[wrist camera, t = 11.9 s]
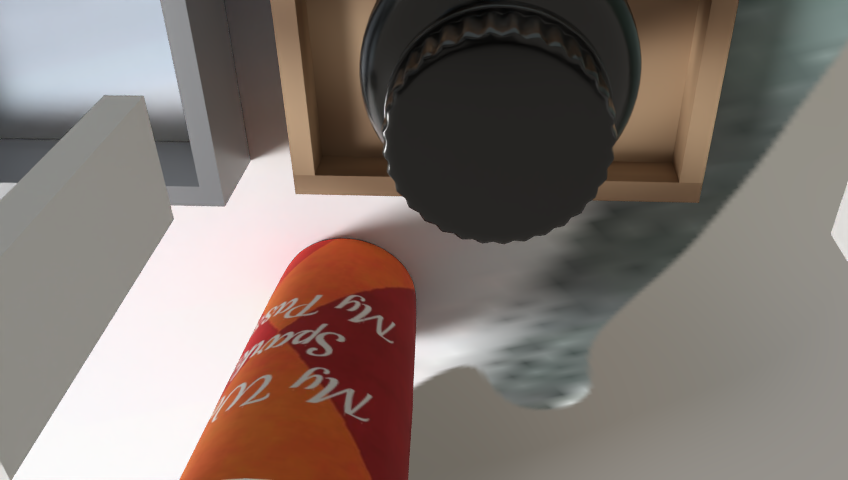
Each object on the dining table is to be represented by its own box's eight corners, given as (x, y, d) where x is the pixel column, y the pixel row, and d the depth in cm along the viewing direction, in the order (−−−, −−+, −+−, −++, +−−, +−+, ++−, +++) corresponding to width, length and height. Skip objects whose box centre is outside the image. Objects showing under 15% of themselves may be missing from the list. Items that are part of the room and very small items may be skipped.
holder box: (-231, -226, 25) (-327, -218, 22) (184, -236, 24) (141, -229, 21) (-71, 155, 33) (-127, 198, 30) (250, 161, 31) (224, 206, 29)
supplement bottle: (644, 7, 26) (734, 192, 16) (474, 117, 28) (460, 334, 19) (529, -182, 23) (551, -101, 13) (352, -41, 26) (259, 116, 16)
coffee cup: (394, 188, 32) (323, 496, 19) (471, 336, 36) (453, 669, 23) (220, 249, 34) (57, 557, 22) (310, 381, 38) (216, 705, 26)
